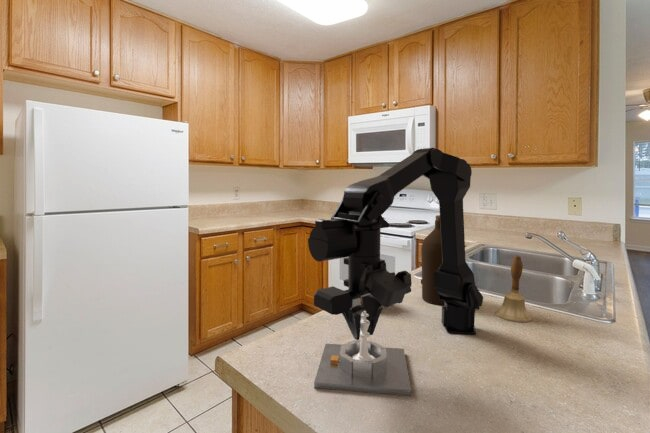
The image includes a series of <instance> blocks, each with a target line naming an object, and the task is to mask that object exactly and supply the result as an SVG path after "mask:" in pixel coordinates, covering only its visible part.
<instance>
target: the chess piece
mask: <svg viewBox="0 0 650 433" xmlns="http://www.w3.org/2000/svg"><path fill="white" fill-rule="evenodd" d="M368 316H369V314H366V311H363V312H362V314H361V326H360V337H361V339H360V340H361V345H360V352H359V353H358V354H355V355H353V356H352V358H353V359H355V360H367V361H371V360H373V359H375V357H374V356H372V355H370V354H369V353H368V347H367V341H368V338H369V337H370V336H371V335H370V333H369V332H367V330H368V327H369V324H370V322H369V321H368V320H366V317H368Z"/></svg>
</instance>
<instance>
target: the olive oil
mask: <svg viewBox="0 0 650 433" xmlns="http://www.w3.org/2000/svg"><path fill="white" fill-rule="evenodd" d="M420 248H421V249H420V252H421V254H420V256H421V257H420V258H421V259H420V260H421V279H420V285H421V289H422V290H421V299H422V300H423V301H424V302H426V303H429V304H433V305H439V306H444V302H445V301H442V300H439V299H438V295H437V291H436V287H434V283H435V279H434V272H435V271H436V270H438V269H439V267H440V266H441V264H442V244H441V227H440V214H439V215H435V220H434V229H433V230H432V231H431V232H430V233H428V234H427V236H426V237H425V238H424V239H423V241H422V244H421V247H420Z"/></svg>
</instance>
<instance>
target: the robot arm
mask: <svg viewBox="0 0 650 433" xmlns="http://www.w3.org/2000/svg"><path fill="white" fill-rule="evenodd" d="M472 172H473V171H472V167H471V165H470V163H468V162H467V161H466V159H463V158H460V157H459V156H455V155H452V154H449V153H445V152H443V151H442V150H440V149H439V148H436V147H426V148H419V149H418V148H417V149H416V150H413V152H412V154H410V155H409V156H407V157H405V158H404V159H402V160H400V161H399V162H397V164H395V165H393V166H391V167H390V168H388V169H387V170H385V171H384V172H382V173H381V174H379V175H377V176H374V177H370V178H367V179H362V180H360V181H357V182H354V183H351V184H349V185H348V186H347V187H346V188H345V189H344V190H343V196H342V198H341V200H340V202H339V203H338V204H337V207H336V209H335V210H334V212H333V213H332V214H333V215H332V216H331V217H330V219H323V218H321V219H320V218H319V219H316V220H315V221H314V223H315V225H314V227H313V228H312V229H311V230H310V233H309V236H308V238H307V245H308V250H309V253H310V255H311V257H312V258H313V259H314V260H315V261H316V262H317V263H318V262H319V263H320V262H325V261H331V260H337V259H343V264H344V265H347V266H348V267H347V270H348V271H347V274H348V275H347V279H343V286H344V287H347V288H348V289H340V288H338V287H335V286H333V285H332V286H329V287H324V288H320V289H317V290H316V291H315V293H314V295H313V306H314V307H317V308H318V309H320V310H322V311H324V312H326V313H328V314H330V315H335V316H336V315H337V316H338V315H340V314H341V315H342V317H343V318H344V320H345V321H346V324H347V326H348V328H349V331H350V333H351V335H352V337H353V340H355V341H356V340H360V332H361V328H360V326H361V320H362V318H361V315H363V311H366V314H369V316H368V317H366V320H368V321H369V322H370V324H369V327H368V330H367V332H369V333H370V336H373V335H374V333H375V330H376V327H377V325H378V321H379V318H380V316H381V314H382V311H383V309H384V308H389V307H392V306H393V305H397V304H402V303H403V301H404V298H405V295H406V294H407V295H408V294H409V293H411V292H412V283H413V282H412V274H411V273H410V272H408V270H401V271H397V273H396V272H389V271H388V269H387V263H386V260H385V259H381V231H382V230H381V229H387V228H388V229H389V228H390V223H389V222H388V221H387V220H385V219H384V217H383V216H382V215H383V214H384V213H386V211H387V210H388V209H389V208H390V207H391V206H392V204H393V203H394V200H395V196H397V195H398V194H399V192H401V191H403V190H404V189H405V188H407V187H409V186H410V185H411V184H412V183H414V182H415V181H417V180H418V179H419V178H420V177H425V178H427V179H428V180H429V184H430V189H431V192H432V193H433V195H434V196H435V197H436V199H437V201H438V206H439V215H440V227H441V244H442V264H441V266H440V267H439V269H438V270H436V271H435V272H434V279H435V283H434V287H436V291H437V295H438V299H439V300H442V301H445V302H444V305H442V307H441V322H440V323H441V325H442V326H443V328H444V329H445V331H446V332H447V333H449V334H463V335H477V330H476V329H475V318H476V317H475V316H476V314H475V313H476V310H480V307H482V305H483V301H484V296H483V295H482V293H481V292H480V289H478V287H477V286H476V282H475V281H476V280H475V274H474V272H473V271H472V269H471V267H470V266H469V265H468V263H467V261H466V241H465V238H466V237H465V220H464V198H465V197H466V195H467V193H468V191H469V190H470V188H471V179H472V178H471V177H472ZM361 298H362V301H363V305H361Z"/></svg>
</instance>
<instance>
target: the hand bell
mask: <svg viewBox="0 0 650 433" xmlns="http://www.w3.org/2000/svg"><path fill="white" fill-rule="evenodd" d="M510 273H511V278H512V282H511V289H510V290H511V291H510V292H507V293H506V294H504V299H503V302H502V304H501V306H500V307H499V308H497V309H496V310H495V315H497V316H498V317H499V318H501V319H504V320H506V321H509V322H517V323H528V322H531V321H532V320H533V318H532V316H531V314H530V313H529V312H528V310H527V306H526V303H525V302H526V301H525V297H524V295H521V294H520V293H519V292H520V279H521V277H522V274H523V262H522V259H521V255H514V258H513V260H512V262H511V266H510Z"/></svg>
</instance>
